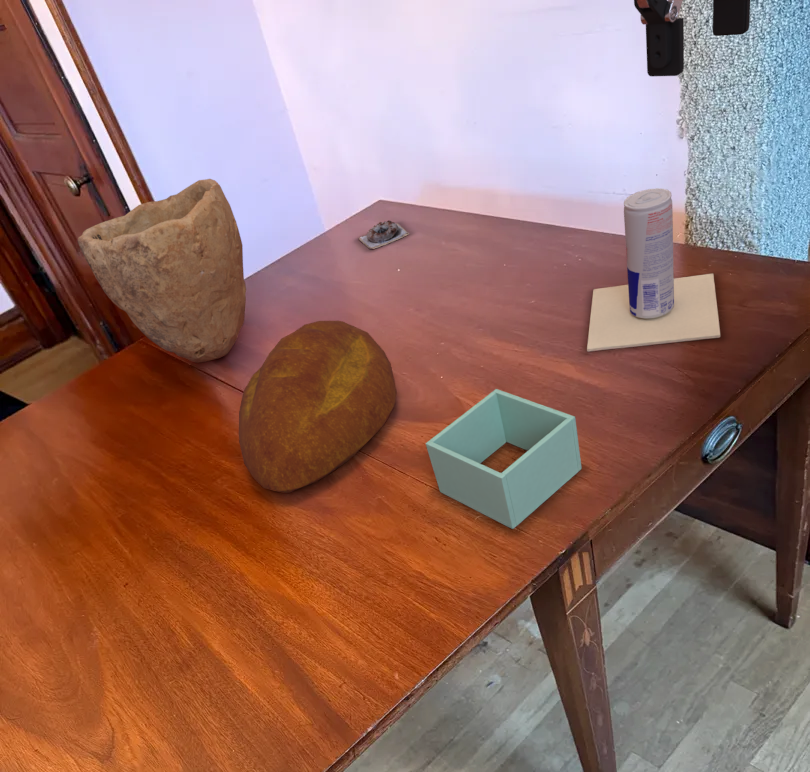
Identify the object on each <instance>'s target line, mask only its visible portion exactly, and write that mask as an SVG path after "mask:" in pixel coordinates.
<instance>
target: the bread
mask: <svg viewBox="0 0 810 772" xmlns="http://www.w3.org/2000/svg"><path fill="white" fill-rule="evenodd" d="M395 381H396V380H395V376H394V373H393V368H392V364H391V361H390V359H389V358H388V356H387V353H386V352H385V351H384V350H383V348H382V347H381V346H380V345H379V344H378V343H377V341H376V340H375V339H374V338H373V336H372V335H371V334H370V333H368V331H365V330H363V329H361V328H359V327H356V326H354V325H352V324H350V323H348V322H345V321H342V320H316V321H314V322H313V321H312V322H310V323H305V324H303V325H302V326H300V327H299V328H297V329H295V330H294V331H293V332H292V333H289V334H287V335H286V336H284V337H282V338H280V340H279V341H278V342H277V343H276V344H275V346H274V347H273V348H272V349H271V351H270V352H269V353H268V355H267V357H266V358H265V360H264V362H263V363H262V365H261V366H260V367H259V368H258V369H257V370H256V371H255V372H254V373H253V374H252V376H251V377H250V379H249V381H248V382H247V384H246V386H245V388H244V389H243V392H242V397H241V402H240V406H239V410H238V443H239V447H240V452H241V456H242V460H243V464H244V465H245V467H246V470H248V472H249V473H250V475H251V477H252V478H253V479H254V480H255V481H256V482H257V483H258V484H259V485H260V486H261V487H262V488H263V489H266V490H270V491H273V492H278V493H283V494H291V493H292V492H295V491H297V490H299V489H301V488H303V487H306V486H309V485H312V484H314V483H316V482H318V481H320V480H322V479H323V478H324V477H327V476H328V475H330V474H332V473H333V472H335V471H336V470H337V469H339V468H340V467H342V466H343V465H344V464H346V463H347V462H349V461H350V460H351V459H352V458H353V457H354V456H355V455H356V454H357V453H358V452H359V451H360V450H361V449H362V448H363V447H364V446H365V445H366V444H367V443H368V442H369V441H370V440H371V439H372V438H373V437H375V435H377V433H378V432H379V431H380V430H381V429H382V428H383V427H384V426H385V424H386V423H387V422H388V421H387V420H388V419H389V417H390V415H391V413H392V411H393V409H394V407H395V405H396V404H395V403H396V397H397V387H396V382H395Z"/></svg>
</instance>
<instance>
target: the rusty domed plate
mask: <svg viewBox="0 0 810 772" xmlns="http://www.w3.org/2000/svg"><path fill="white" fill-rule="evenodd" d="M408 235H410V233H409V232H408V231H407V230H406V229H405V228H404V227H403V226H401V224H399V222H397V223H395V222H394V221H392V220H386V221H385V220H384V221H379V222H378V223H376V224H375V225H374V226H372V227H371V228H369V229H368V231H367V233H366V235H362V236H360V237H358V240H359V241H360V242H361V243H362V244H363V245H364V246H365V247H366V248H367V249H369V250H370V249H372V250H375V249H377V248H380V247H382V246H386V245H388V244H392V243H394V242H395V241H397V240H400V239H403V238H405V237H406V236H408Z"/></svg>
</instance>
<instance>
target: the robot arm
mask: <svg viewBox="0 0 810 772" xmlns="http://www.w3.org/2000/svg"><path fill="white" fill-rule="evenodd" d="M683 1H684V0H633V5H634V7H635V9H636V10H637V12H638V13H639V14H640V23H641V24H642V25H645V43H646V47H645V48H646V69H647V70H646V73H647V75H648V76H649V77H677V76H679V75H681V74H682V73H683V72H684V70H685V59H684V58H685V54H684V53H685V42H684V41H685V36H684V35H685V29H684V28H685V27H684V26H685V25H684V17H678V16H679V13H680V11H681V8H682V5H683ZM750 12H751V0H712V34H713V36H715V37H722V36H723V37H724V36H738V35H739V36H740V35H741V36H742V35H744V34H745V33H747V32H748V31H749V30H750V18H751V13H750Z"/></svg>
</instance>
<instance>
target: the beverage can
mask: <svg viewBox="0 0 810 772" xmlns="http://www.w3.org/2000/svg"><path fill="white" fill-rule="evenodd" d="M673 211H674V210H673V199H672V191H670V190H669V189H667V188H659V187H657V188H656V187H655V188H648V189H647V188H646V189H644V190H640V191H637V192H634V193H632V194H630V195H629V196H627V197H626V198H625V199H624V201H623V220H624V223H623V224H624V237H625V253H626V256H625V257H626V269H627V270H626V271H627V285H628V290H629V306H630V312H631V314H633V315H634V316H636V317H639V318H644V319H651V318H657V317H660V316H663V315H665V314H667V313H668V312H669V311H671V309H672V308H673V307H674V279H675V277H674V275H675V273H674V221H673V217H674V216H673V214H674V213H673Z"/></svg>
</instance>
